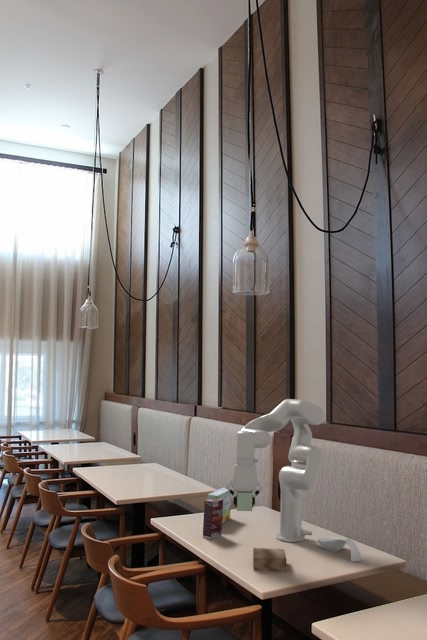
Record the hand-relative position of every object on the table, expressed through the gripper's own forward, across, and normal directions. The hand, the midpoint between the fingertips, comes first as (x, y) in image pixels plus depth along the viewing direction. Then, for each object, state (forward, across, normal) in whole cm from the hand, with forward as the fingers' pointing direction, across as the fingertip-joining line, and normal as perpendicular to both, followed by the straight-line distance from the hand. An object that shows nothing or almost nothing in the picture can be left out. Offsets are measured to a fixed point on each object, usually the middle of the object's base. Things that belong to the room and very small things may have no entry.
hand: (244, 506), depth 227 cm
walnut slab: (+19, -9, +14) cm, 25 cm away
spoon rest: (+19, -41, -5) cm, 45 cm away
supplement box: (+19, +11, -24) cm, 32 cm away
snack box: (+19, +7, -49) cm, 53 cm away
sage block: (+1, 0, 0) cm, 1 cm away
